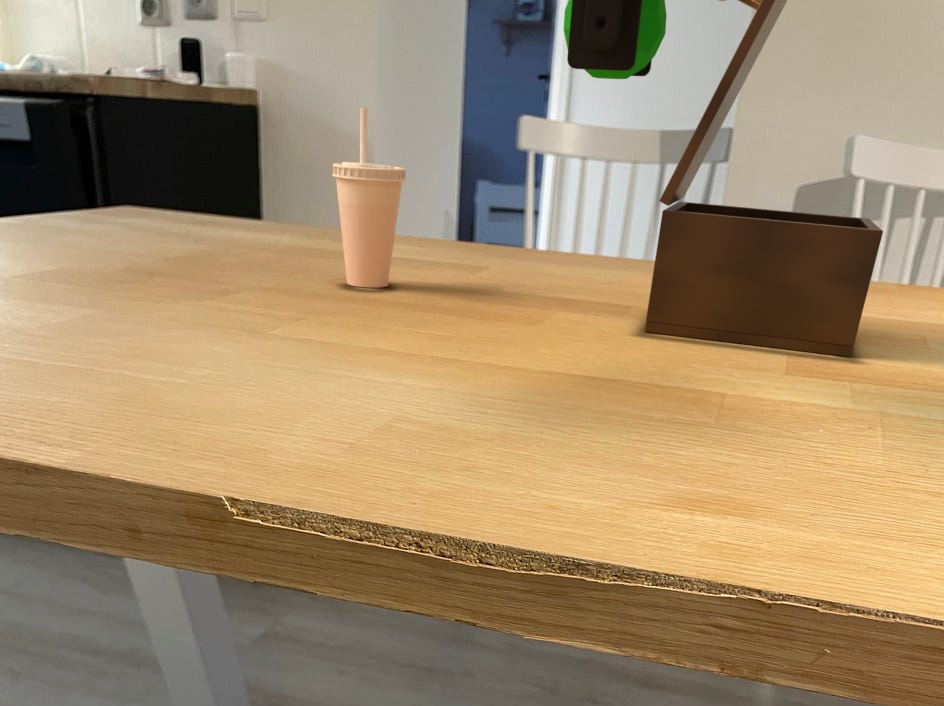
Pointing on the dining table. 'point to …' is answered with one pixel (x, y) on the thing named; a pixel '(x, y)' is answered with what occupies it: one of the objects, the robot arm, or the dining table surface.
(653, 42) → the polyhedron
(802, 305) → the chest
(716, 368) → the dining table surface
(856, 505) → the dining table surface
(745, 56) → the lid
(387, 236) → the smoothie
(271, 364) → the dining table surface
